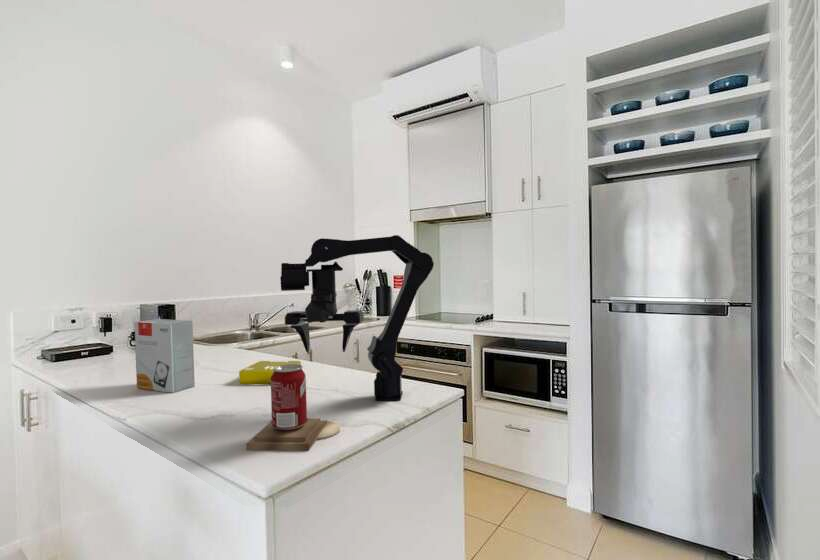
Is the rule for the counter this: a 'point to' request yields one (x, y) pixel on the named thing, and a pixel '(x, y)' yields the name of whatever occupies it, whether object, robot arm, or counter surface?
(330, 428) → the coaster
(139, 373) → the hard drive box
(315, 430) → the brown flat square block
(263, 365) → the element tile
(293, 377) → the soda can
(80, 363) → the counter surface
